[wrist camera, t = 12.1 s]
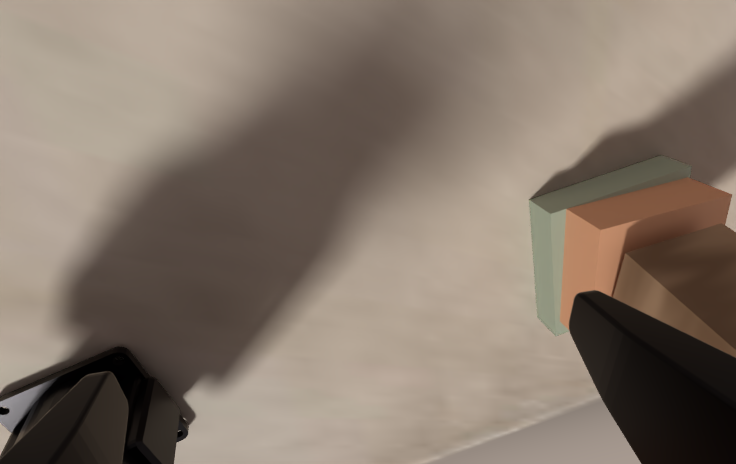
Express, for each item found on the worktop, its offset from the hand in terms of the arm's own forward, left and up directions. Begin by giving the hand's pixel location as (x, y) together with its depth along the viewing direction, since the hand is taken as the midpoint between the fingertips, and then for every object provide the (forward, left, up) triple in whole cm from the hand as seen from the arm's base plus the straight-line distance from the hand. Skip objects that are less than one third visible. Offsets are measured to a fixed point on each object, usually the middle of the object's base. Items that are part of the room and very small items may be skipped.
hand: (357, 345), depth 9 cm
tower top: (+14, -11, -11) cm, 21 cm away
